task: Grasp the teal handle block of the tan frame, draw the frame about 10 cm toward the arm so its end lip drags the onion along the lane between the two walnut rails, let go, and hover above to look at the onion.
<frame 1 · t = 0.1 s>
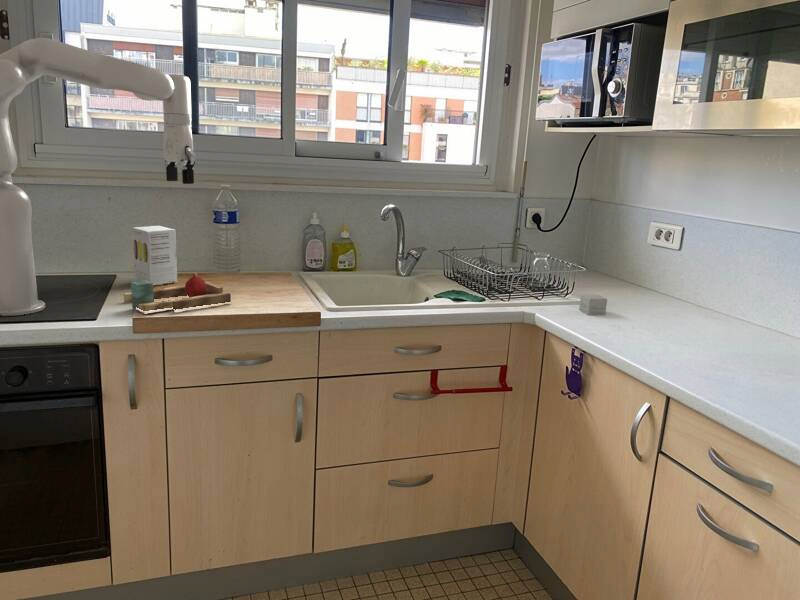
hand: (180, 182, 188), 31 cm above the worktop, tool pointing down, fingers open, 9 cm apart
broken strip: (160, 297, 183), on the worktop
lane rails: (191, 302, 179), on the worktop
tan frame: (177, 291, 175), point 4 cm above the worktop, slide at 0.0 cm
supplement box: (156, 283, 200), on the worktop
onion: (196, 301, 181), on the worktop
small box: (591, 313, 189), on the worktop
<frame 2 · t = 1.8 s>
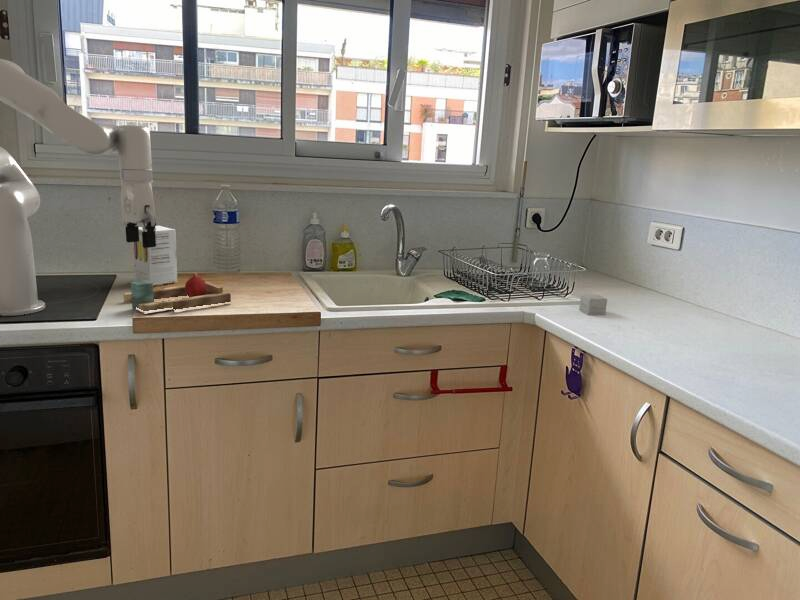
hand: (141, 244, 166), 17 cm above the worktop, tool pointing down, fingers open, 9 cm apart
nothing on the worktop moved.
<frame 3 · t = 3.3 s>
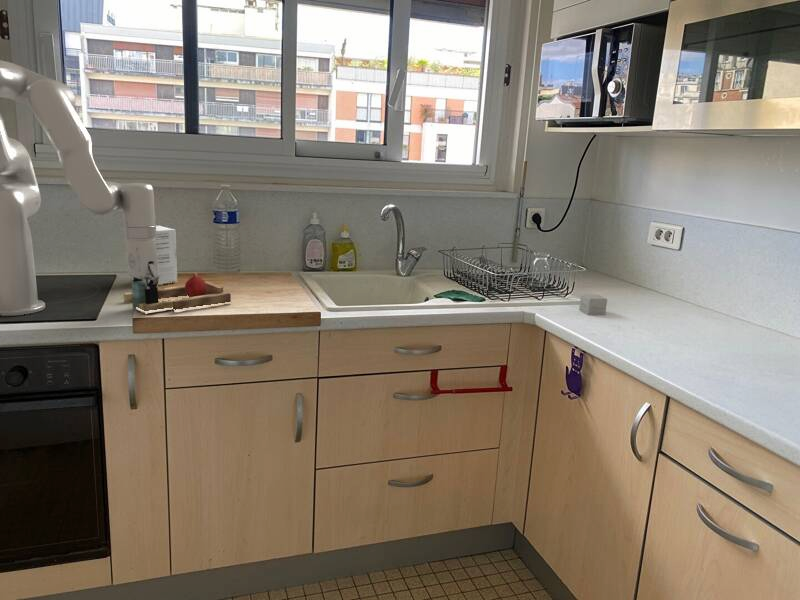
hand: (145, 299, 170), 3 cm above the worktop, tool pointing down, fingers open, 7 cm apart
tan frame: (178, 291, 175), point 4 cm above the worktop, slide at -0.2 cm, touching gripper
everything else where it was.
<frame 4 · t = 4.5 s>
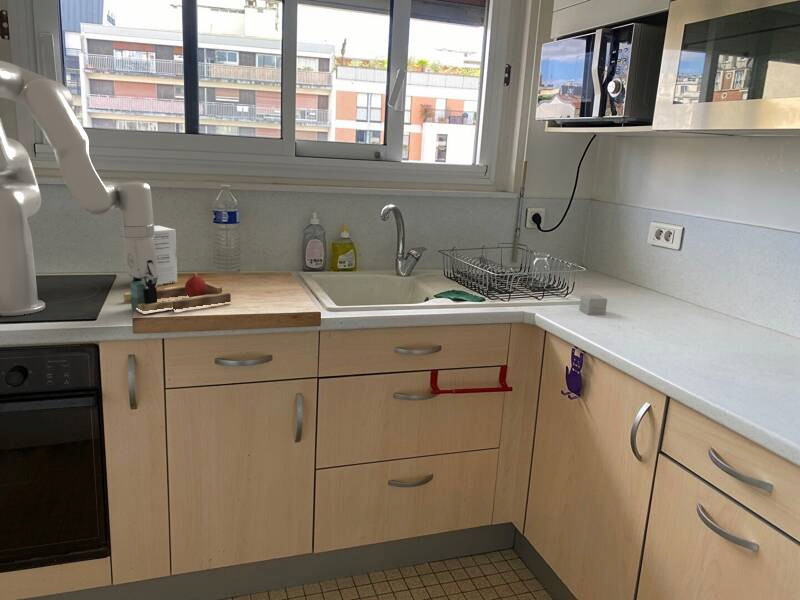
hand: (145, 300, 169), 3 cm above the worktop, tool pointing down, fingers closed on tan frame, 6 cm apart
tan frame: (176, 291, 175), point 4 cm above the worktop, slide at 0.2 cm, touching gripper
everything else where it was.
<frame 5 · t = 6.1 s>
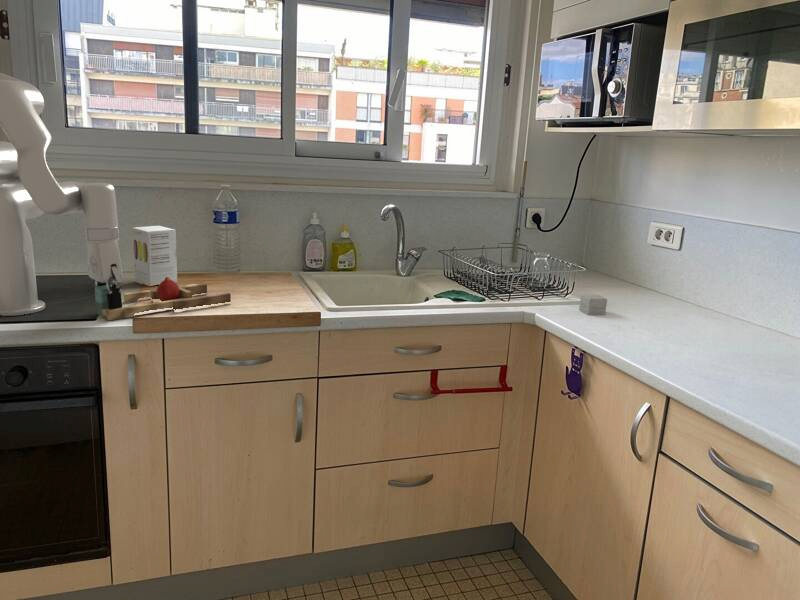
hand: (109, 305, 163), 3 cm above the worktop, tool pointing down, fingers closed on tan frame, 6 cm apart
tan frame: (144, 296, 169), point 4 cm above the worktop, slide at 9.1 cm, touching gripper, onion
onion: (169, 306, 175), on the worktop, touching tan frame
everything else where it was.
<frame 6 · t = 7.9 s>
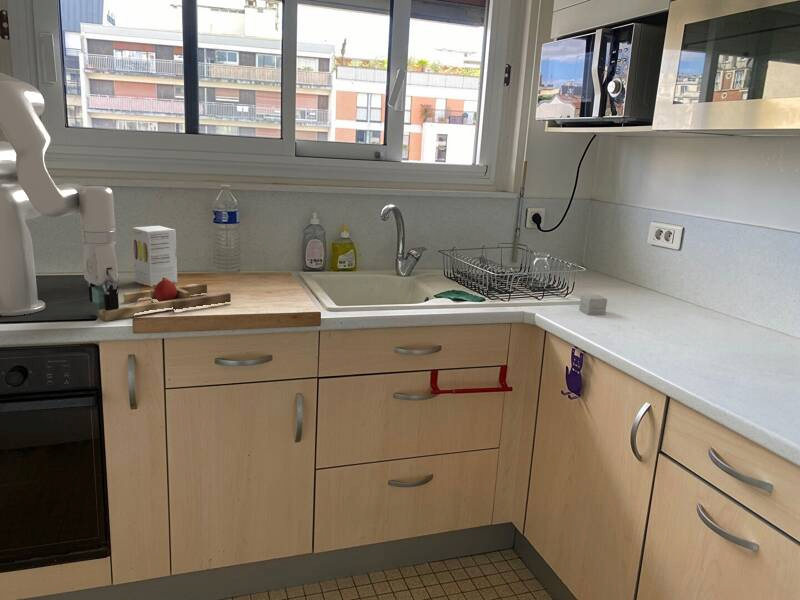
hand: (104, 305, 163), 3 cm above the worktop, tool pointing down, fingers open, 9 cm apart
tan frame: (141, 296, 168), point 4 cm above the worktop, slide at 9.8 cm, touching gripper, onion
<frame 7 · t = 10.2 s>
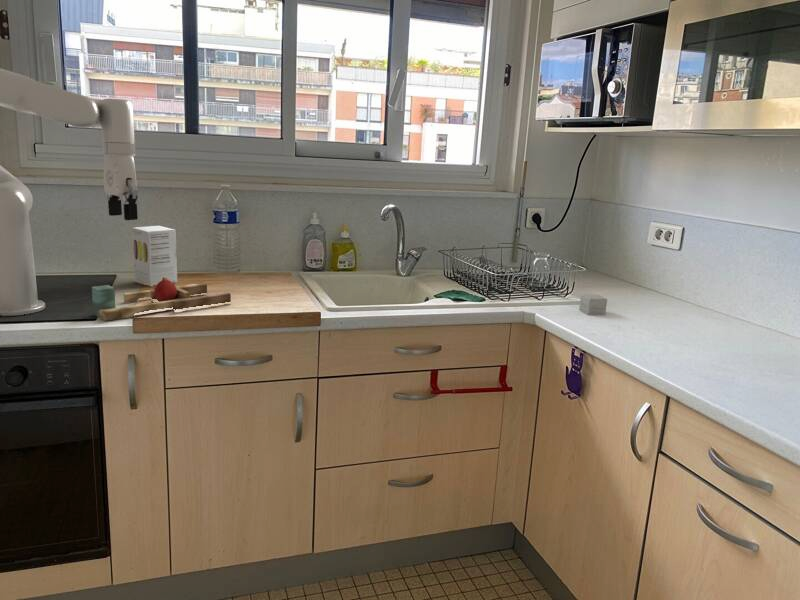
hand: (123, 217, 169), 23 cm above the worktop, tool pointing down, fingers open, 9 cm apart
tan frame: (141, 296, 169), point 4 cm above the worktop, slide at 9.8 cm, touching onion
everything else where it was.
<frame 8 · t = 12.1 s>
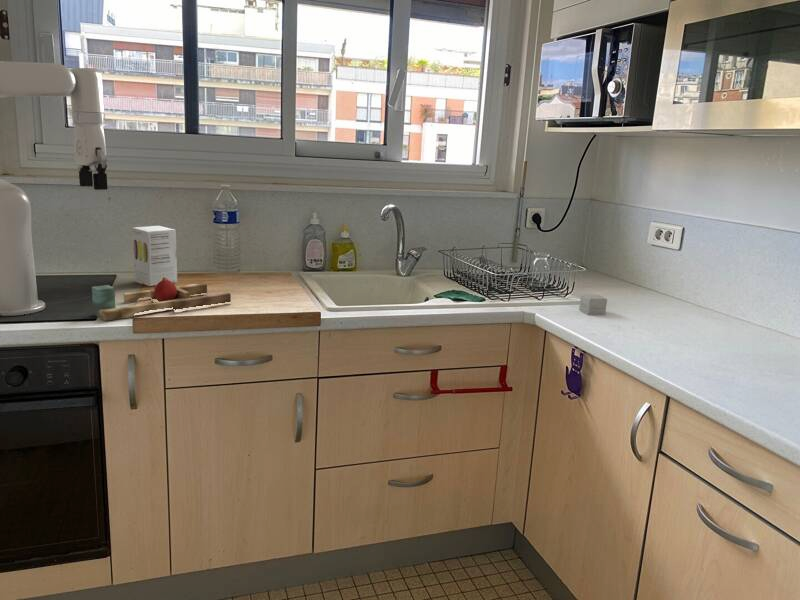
hand: (93, 187, 170), 30 cm above the worktop, tool pointing down, fingers open, 9 cm apart
nothing on the worktop moved.
at the end: tan frame slide at 9.8 cm; onion inside the target area (1.8 cm from its centre), on the worktop; onion moved 8.7 cm from its start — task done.
